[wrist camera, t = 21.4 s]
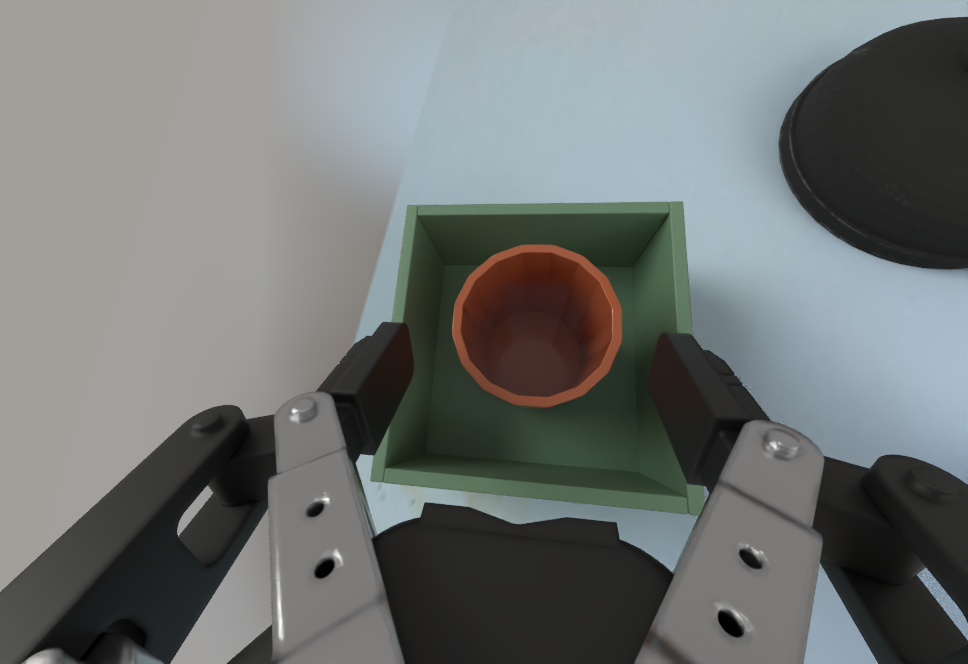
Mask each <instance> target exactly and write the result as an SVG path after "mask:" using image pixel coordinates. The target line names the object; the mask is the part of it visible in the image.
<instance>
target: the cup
mask: <svg viewBox="0 0 968 664" xmlns="http://www.w3.org/2000/svg"><path fill="white" fill-rule="evenodd" d="M452 336H453V339H454V343H455V346H456V349H457V352H458V355H459V358H460V361H461V364H462V366H463V367H464V368H465V369H466V370H467V371H468V373H469V374H470V375H471V376H472V377H473V378H474V380H475V381H476V382H477V383H478V384H479V385H480V387H481V388H482V389H484V390H485V391H487V392H488V393H490V394H492V395H493V396H495V397H497V398H499V399H500V400H502V401H504V402H506V403H508V404H510V405H512V406H514V407H516V408H518V409H523V410H538V411H541V410H545V409H548V408H551V407H554V406H557V405H560V404H562V403H565V402H568V401H570V400H573V399H576V398H579V397H581V396H583V395H585V394H586V393H587V392H588V391H589V390H590V389H591V388H592V387H593V386H594V385H596V384H597V383H598V382H599V381H600V380H601V379H602V378H603V377H604V376H605V375H606V374H607V373H608V372H609V371H610V369H611V366H612V364H613V362H614V359H615V357H616V355H617V352H618V350H619V348H620V345H621V343H622V308H621V305H620V303H619V301H618V299H617V297H616V294H615V292H614V290H613V288H612V286H611V284H610V282H609V280H608V278H607V277H606V276H605V275H604V274H603V273H602V272H601V271H600V270H598V269H597V268H596V267H595V266H594V265H593V264H592V263H591V262H590V261H589V260H587V259H586V258H585V257H583V256H582V255H579V254H577V253H574V252H572V251H569V250H566V249H564V248H561V247H558V246H556V245H519V246H517V247H514V248H511V249H509V250H506V251H503V252H500V253H498V254H495V255H493V256H491V257H490V258H489V259H488V260H487V261H485V262H484V263H483V264H482V265H481V266H480V267H478V268H477V269H476V270H475V271H474V272H473V273H471V274H470V275H469V277H468V278H467V280H466V282H465V284H464V286H463V288H462V290H461V292H460V294H459V296H458V298H457V299H456V301H455V304H454V315H453V326H452Z"/></svg>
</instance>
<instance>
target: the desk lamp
mask: <svg viewBox="0 0 968 664" xmlns="http://www.w3.org/2000/svg"><path fill="white" fill-rule="evenodd" d="M779 153H780V162H781V165H782V169H783V173H784V176H785V178H786V180H787V182H788V184H789V186H790V188H791V190H792V192H793V194H794V195H795V196H796V198H797V199H798V201H799V202H800V203H801V205H802V206H803V207H804V209H805V210H806V211H807V212H808V213H809V214H810V215H811V216H812V217H813V218H814V219H815V220H816V221H817V222H818V223H820V224H821V225H822V226H824V227H825V228H826V229H827V230H829V231H830V232H831V233H833V234H834V235H835V236H837V237H839V238H840V239H842V240H844V241H846V242H847V243H849V244H851V245H852V246H854V247H856V248H858V249H861V250H863V251H865V252H868V253H870V254H872V255H875V256H877V257H880V258H884V259H887V260H890V261H894V262H897V263H900V264H906V265H912V266H918V267H923V268H937V269H961V268H968V17H956V18H941V19H934V20H927V21H920V22H916V23H913V24H909V25H905V26H901V27H899V28H896V29H894V30H891V31H888V32H886V33H883V34H882V35H880V36H878V37H876V38H874V39H872V40H870V41H868V42H867V43H865V44H863V45H861V46H860V47H858V48H856V49H854V50H853V51H852V52H850V53H849V54H848V55H847V56H845V57H844V58H842V59H841V60H839V61H837V62H835V63H833V64H832V65H830V66H828V67H827V68H826V69H825V70H823V71H822V72H821V73H820V74H818V75H817V76H816V77H815V78H814V79H813V80H812V81H811V82H810V83H809V85H808V86H807V87H806V88H805V89H804V90H803V91H802V93H801V94H800V95H799V96H798V97H797V98H796V100H795V101H794V102H793V104H792V106H791V107H790V109H789V110H788V112H787V114H786V116H785V119H784V122H783V124H782V127H781V132H780V139H779Z"/></svg>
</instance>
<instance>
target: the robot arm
mask: <svg viewBox="0 0 968 664" xmlns="http://www.w3.org/2000/svg"><path fill="white" fill-rule="evenodd" d="M413 374H414V357H413V351H412V345H411V340H410V334H409V329H408V326H407V324H406V323H398V322H383V323H381V325H380V326H379V327H378V328H377V330H376V331H375V332H374V334H373V335H372V336H366V337H365V338H363V339H362V340H360V341H359V342H357V343H355V344H354V345H353V346H352V348H351V349H350V350H349V351H348V353H347V355H346V356H344V358H343V359H342V360H341V361H340V364H338V365H337V366H336V367H335V369H334V370H333V371H332V372H331V373H330V375H329V376H328V377H327V378H326V380H325V381H324V382H323V383H322V384H321V386H320V387H319V388H318V389H317V391H316V392H308V393H304V394H301V395H299V396H296V397H294V398H292V399H290V400H289V401H287V402H286V403H284V404H283V405H282V406H281V407H280V408H279V409H278V410H277V412H276V414H275V415H269V416H263V417H258V418H251V419H246V418H245V416H244V414H243V412H242V411H241V409H240V408H239V407H237V406H234V405H223V406H217V407H213V408H210V409H207V410H205V411H203V412H201V413H199V414H197V415H195V416H193V417H192V418H190V419H189V420H187V421H186V422H185V423H184V424H183V425H181V427H179V428H178V429H177V430H176V431H175V432H174V433H173V434H172V435H171V436H169V437H168V438H167V439H166V440H165V441H164V442H163V443H162V444H161V445H160V446H159V447H158V448H156V449H155V450H154V451H153V452H152V453H151V454H150V455H149V456H148V457H147V458H146V459H144V460H143V461H142V462H141V463H140V464H139V465H138V466H137V467H136V468H135V469H134V470H133V471H131V472H130V473H129V474H128V475H127V476H126V477H125V478H124V479H123V480H122V481H121V482H120V483H119V484H117V485H116V486H115V487H114V488H113V489H112V490H111V491H110V492H109V493H108V494H107V495H105V496H104V497H103V498H102V499H101V500H100V501H99V502H98V503H97V504H96V505H95V506H93V507H92V508H91V509H90V510H89V511H88V512H87V513H86V514H85V515H84V516H83V517H81V518H80V519H79V520H78V521H77V522H76V523H75V524H74V525H73V526H72V527H71V528H69V529H68V530H67V531H66V532H65V533H64V534H63V535H62V536H61V537H60V538H59V539H57V541H55V542H54V543H53V544H52V545H51V546H50V547H49V548H48V549H47V550H45V552H43V553H42V554H41V555H40V556H39V557H38V558H37V559H36V560H35V561H34V562H33V563H31V564H30V565H29V566H28V567H27V568H26V569H25V570H24V571H23V572H22V573H20V574H19V575H18V576H17V577H16V578H15V579H14V580H13V581H12V582H11V583H10V584H9V585H8V586H6V587H5V588H4V589H3V590H2V591H1V592H0V664H170V663H171V661H172V660H173V658H174V656H175V655H176V653H177V652H178V650H179V648H180V647H181V645H182V644H183V642H184V641H185V639H186V637H187V636H188V634H189V633H190V631H191V629H192V628H193V626H194V624H195V623H196V622H197V620H198V618H199V617H200V615H201V614H202V612H203V610H204V609H205V607H206V606H207V604H208V602H209V601H210V599H211V598H212V596H213V595H214V593H215V591H216V590H217V588H218V587H219V585H220V583H221V582H222V580H223V579H224V577H225V576H226V574H227V572H228V571H229V569H230V567H231V566H232V565H233V563H234V561H235V560H236V558H237V557H238V555H239V553H240V552H241V550H242V549H243V547H244V546H245V544H246V542H247V541H248V539H249V538H250V536H251V534H252V533H253V531H254V530H255V528H256V527H257V525H258V523H259V522H260V520H261V519H262V517H263V515H264V514H265V512H266V511H267V509H268V508H269V536H270V537H269V540H270V570H271V571H270V572H271V603H272V625H271V626H270V627H268V628H267V629H266V630H265V631H264V632H263V633H261V634H260V635H259V636H258V637H257V638H256V639H254V640H253V641H252V642H251V643H250V644H249V645H248V646H246V647H245V648H244V649H243V650H242V651H241V652H240V653H238V654H237V655H236V656H235V657H234V658H232V659H231V660H230V661H229V662H228V663H227V664H803V663H804V657H805V651H806V644H807V638H808V632H809V626H810V619H811V613H812V607H813V601H814V594H815V588H816V582H817V576H818V569H819V563H820V564H821V565H822V567H823V569H824V571H825V572H826V574H827V576H828V578H829V579H830V581H831V583H832V584H833V586H834V588H835V590H836V591H837V593H838V595H839V597H840V598H841V600H842V602H843V603H844V605H845V607H846V609H847V610H848V612H849V614H850V616H851V617H852V619H853V621H854V622H855V624H856V626H857V628H858V629H859V631H860V633H861V634H862V636H863V638H864V640H865V641H866V643H867V645H868V647H869V648H870V650H871V652H872V653H873V655H874V657H875V659H876V660H877V662H878V664H968V640H967V639H966V638H965V637H964V635H963V634H962V633H961V631H960V630H959V629H958V628H957V626H956V625H955V624H954V622H953V621H952V620H951V619H950V617H949V616H948V615H947V613H946V612H945V611H944V609H943V608H942V607H941V606H940V604H939V603H938V602H937V600H936V599H935V598H934V597H933V595H932V594H931V593H930V591H929V590H928V589H927V588H926V586H925V585H924V584H923V582H922V581H921V580H920V579H919V577H918V576H917V574H918V573H919V572H920V571H922V570H923V569H924V568H925V567H926V568H927V569H928V570H929V571H930V572H931V574H932V575H933V576H934V577H935V579H936V580H937V581H938V582H939V584H940V585H941V586H942V587H943V589H944V590H945V591H946V592H947V593H948V595H949V596H950V597H951V598H952V600H953V601H954V602H955V603H956V605H957V606H958V607H959V608H960V610H961V611H962V613H963V614H964V616H965V618H966V620H967V622H968V485H967V484H965V483H964V482H963V481H961V480H960V479H958V478H957V477H955V476H953V475H952V474H950V473H948V472H946V471H944V470H942V469H940V468H938V467H936V466H934V465H932V464H929V463H927V462H924V461H921V460H918V459H915V458H911V457H907V456H902V455H884V456H881V457H880V458H878V459H877V460H876V462H875V463H874V464H873V465H872V466H871V468H870V469H868V468H865V467H861V466H857V465H854V464H850V463H847V462H843V461H840V460H836V459H832V458H829V457H826V456H823V454H822V452H821V451H820V449H819V448H818V447H817V446H816V445H815V444H814V443H813V442H812V441H811V440H810V439H809V438H807V437H806V436H805V435H803V434H801V433H800V432H798V431H796V430H794V429H792V428H790V427H788V426H785V425H783V424H780V423H776V422H772V421H771V420H770V419H769V418H768V416H767V415H766V414H765V412H764V411H763V410H762V409H761V407H760V406H759V405H758V403H757V402H756V401H755V399H754V398H753V397H752V396H751V394H750V393H749V392H748V390H747V389H746V388H745V387H744V386H742V383H741V381H740V380H739V379H738V378H737V376H734V372H733V371H732V370H731V369H730V367H729V366H728V365H727V363H726V362H725V361H724V360H722V359H721V358H719V357H718V356H716V355H715V354H713V353H712V352H711V351H709V350H702V348H701V347H700V345H699V344H698V343H697V341H696V340H695V338H694V337H693V336H692V335H691V334H690V333H666V332H663V333H661V334H660V336H659V338H658V341H657V345H656V349H655V353H654V356H653V360H652V364H651V368H650V371H649V376H648V386H649V392H650V394H651V397H652V399H653V402H654V404H655V407H656V409H657V411H658V414H659V416H660V419H661V421H662V424H663V426H664V428H665V431H666V433H667V436H668V438H669V441H670V443H671V445H672V448H673V450H674V453H675V455H676V458H677V460H678V462H679V465H680V467H681V470H682V472H683V475H684V477H685V479H686V482H687V484H688V485H700V486H706V487H707V489H708V492H709V496H708V498H707V500H706V502H705V504H704V506H703V508H702V511H701V513H700V515H699V517H698V519H697V521H696V523H695V525H694V528H693V530H692V532H691V534H690V536H689V538H688V540H687V542H686V545H685V547H684V549H683V551H682V553H681V555H680V557H679V559H678V561H677V563H676V565H675V568H674V570H673V572H671V571H670V570H669V569H668V568H666V567H665V566H664V565H663V564H662V563H660V562H659V561H658V560H656V559H655V558H654V557H652V556H651V555H649V554H648V553H646V552H644V551H643V550H641V549H639V548H637V547H635V546H633V545H631V544H629V543H627V542H625V541H622V540H620V538H619V533H618V528H617V523H616V522H606V521H597V520H587V519H578V518H568V517H566V518H559V519H553V520H546V521H540V522H533V523H527V524H513V523H510V522H507V521H505V520H502V519H499V518H497V517H494V516H491V515H489V514H486V513H484V512H481V511H478V510H476V509H473V508H470V507H464V506H454V505H445V504H435V503H426V502H425V504H424V507H423V510H422V514H421V517H420V518H415V519H411V520H408V521H404V522H401V523H399V524H397V525H394V526H392V527H390V528H388V529H386V530H385V531H383V532H381V533H380V534H378V535H377V532H376V529H375V526H374V523H373V519H372V516H371V513H370V509H369V506H368V503H367V499H366V496H365V493H364V489H363V486H362V483H361V479H360V476H359V472H358V469H357V466H356V461H357V460H358V458H359V456H360V454H364V455H375V454H376V452H377V450H378V448H379V446H380V444H381V442H382V440H383V438H384V436H385V434H386V432H387V429H388V427H389V425H390V423H391V421H392V419H393V417H394V415H395V413H396V411H397V409H398V407H399V405H400V403H401V401H402V399H403V396H404V394H405V392H406V390H407V388H408V386H409V384H410V382H411V380H412V378H413ZM207 485H208V486H209V487H210V489H211V491H212V492H213V494H212V496H211V497H210V498H209V499H208V501H207V502H206V503H205V504H204V506H203V507H202V508H201V509H200V511H199V512H198V513H197V514H196V516H195V517H194V518H193V519H192V521H191V522H190V523H189V524H188V525H187V527H186V528H185V529H184V530H183V532H182V533H181V534H180V535H179V537H178V535H177V527H178V524H179V521H180V519H181V517H182V515H183V513H184V512H185V511H186V510H187V509H188V507H189V506H190V505H191V504H192V503H193V501H194V500H195V499H196V498H197V497H198V495H199V494H200V493H201V492H202V491H203V490H204V488H205V487H206V486H207Z"/></svg>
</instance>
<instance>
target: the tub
mask: <svg viewBox="0 0 968 664" xmlns="http://www.w3.org/2000/svg"><path fill="white" fill-rule="evenodd" d="M519 245H556V246H558V247H561V248H564V249H566V250H569V251H572V252H574V253H577V254H579V255H582V256H583V257H585V258H586V259H587V260H589V261H590V262H591V263H592V264H593V265H594V266H595V267H596V268H597V269H598V270H600V271H601V272H602V273H603V274H604V275H605V276H606V277H607V278H608V280H609V282H610V284H611V286H612V288H613V290H614V292H615V294H616V297H617V299H618V301H619V303H620V305H621V308H622V343H621V345H620V348H619V350H618V352H617V355H616V357H615V359H614V362H613V364H612V366H611V369H610V371H609V372H608V373H607V374H606V375H605V376H604V377H603V378H602V379H601V380H600V381H599V382H598V383H597V384H596V385H594V386H593V387H592V388H591V389H590V390H589V391H588V392H587V393H586V394H585V395H583V396H581V397H579V398H576V399H573V400H570V401H568V402H565V403H562V404H560V405H557V406H554V407H551V408H548V409H545V410H541V411H538V410H523V409H518V408H516V407H514V406H512V405H510V404H508V403H506V402H504V401H502V400H500V399H499V398H497V397H495V396H493V395H492V394H490V393H488V392H487V391H485V390H484V389H482V388H481V387H480V385H479V384H478V383H477V382H476V381H475V380H474V378H473V377H472V376H471V375H470V374H469V373H468V371H467V370H466V369H465V368H464V367H463V366H462V364H461V361H460V358H459V355H458V352H457V349H456V346H455V343H454V339H453V336H452V326H453V315H454V304H455V301H456V299H457V298H458V296H459V294H460V292H461V290H462V288H463V286H464V284H465V282H466V280H467V278H468V277H469V275H470V274H471V273H473V272H474V271H475V270H476V269H477V268H478V267H480V266H481V265H482V264H483V263H484V262H485V261H487V260H488V259H489V258H490V257H491V256H493V255H495V254H498V253H500V252H503V251H506V250H509V249H511V248H514V247H517V246H519ZM392 322H398V323H406V324H407V326H408V329H409V334H410V340H411V345H412V351H413V357H414V374H413V378H412V380H411V382H410V384H409V386H408V388H407V390H406V392H405V394H404V396H403V399H402V401H401V403H400V405H399V407H398V409H397V411H396V413H395V415H394V417H393V419H392V421H391V423H390V425H389V427H388V429H387V432H386V434H385V436H384V438H383V440H382V442H381V444H380V446H379V448H378V450H377V452H376V454H375V455H374V456H373V464H372V471H371V479H370V481H372V482H384V483H391V484H401V485H410V486H420V487H430V488H439V489H449V490H459V491H468V492H478V493H488V494H497V495H507V496H517V497H526V498H536V499H546V500H555V501H565V502H575V503H584V504H594V505H604V506H613V507H623V508H633V509H642V510H652V511H662V512H671V513H681V514H691V515H700V513H701V511H702V508H703V506H704V491H703V486H700V485H688V484H687V482H686V479H685V477H684V475H683V472H682V470H681V467H680V465H679V462H678V460H677V458H676V455H675V453H674V450H673V448H672V445H671V443H670V441H669V438H668V436H667V433H666V431H665V428H664V426H663V424H662V421H661V419H660V416H659V414H658V411H657V409H656V407H655V404H654V402H653V399H652V397H651V394H650V392H649V386H648V376H649V371H650V368H651V364H652V360H653V356H654V353H655V349H656V345H657V341H658V338H659V336H660V334H661V333H663V332H666V333H690V334H691V335H692V322H691V308H690V294H689V279H688V265H687V251H686V237H685V223H684V209H683V202H621V203H546V204H472V205H419V206H418V205H408V206H407V212H406V219H405V226H404V234H403V241H402V249H401V256H400V263H399V271H398V278H397V286H396V293H395V301H394V308H393V315H392Z"/></svg>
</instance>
